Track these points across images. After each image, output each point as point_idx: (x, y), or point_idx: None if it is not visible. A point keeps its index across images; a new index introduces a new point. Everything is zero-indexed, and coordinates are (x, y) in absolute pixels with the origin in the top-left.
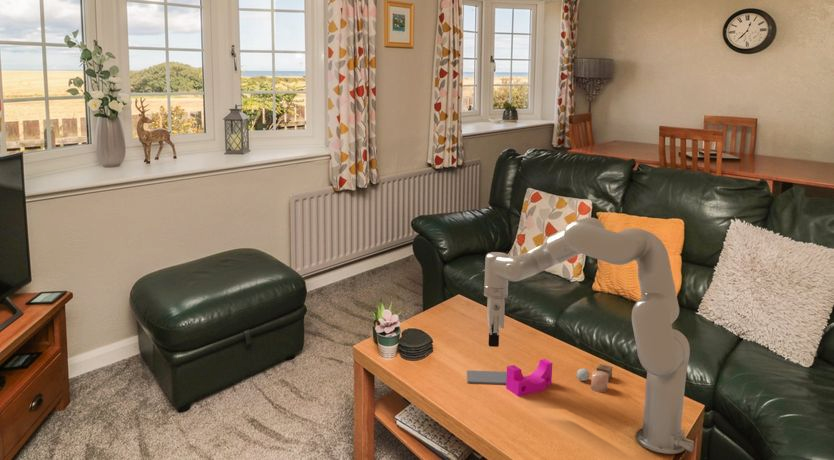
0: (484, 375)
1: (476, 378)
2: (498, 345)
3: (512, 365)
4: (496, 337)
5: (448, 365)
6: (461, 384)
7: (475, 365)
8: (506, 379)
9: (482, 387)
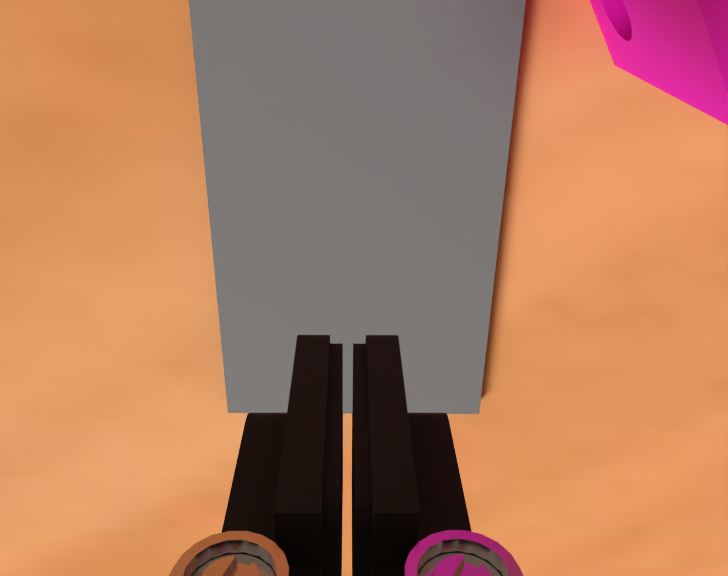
0: (333, 271)
1: (411, 343)
2: (399, 345)
3: (710, 31)
4: (469, 529)
5: (109, 525)
6: (500, 444)
7: (42, 327)
8: (657, 85)
9: (571, 291)
